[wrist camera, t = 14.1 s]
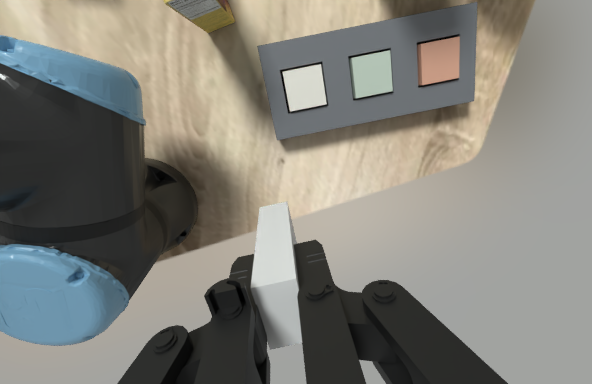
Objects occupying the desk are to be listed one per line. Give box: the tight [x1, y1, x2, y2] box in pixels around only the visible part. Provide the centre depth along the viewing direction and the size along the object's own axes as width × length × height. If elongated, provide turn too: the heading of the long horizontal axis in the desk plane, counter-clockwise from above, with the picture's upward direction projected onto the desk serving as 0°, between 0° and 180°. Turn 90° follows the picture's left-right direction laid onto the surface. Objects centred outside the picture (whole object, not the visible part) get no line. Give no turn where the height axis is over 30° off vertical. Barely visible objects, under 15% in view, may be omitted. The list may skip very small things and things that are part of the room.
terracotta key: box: [417, 36, 460, 85], centre depth 39 cm, size 5×5×3 cm
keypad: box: [257, 2, 477, 140], centre depth 39 cm, size 28×12×3 cm, turn 101°
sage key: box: [349, 50, 393, 98], centre depth 39 cm, size 5×5×3 cm
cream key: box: [282, 64, 327, 111], centre depth 39 cm, size 5×5×3 cm
